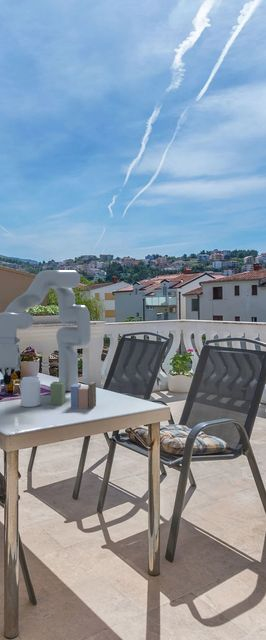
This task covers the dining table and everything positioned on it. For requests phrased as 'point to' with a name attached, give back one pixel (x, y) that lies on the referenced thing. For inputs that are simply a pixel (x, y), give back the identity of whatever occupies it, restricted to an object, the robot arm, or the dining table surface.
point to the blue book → (74, 395)
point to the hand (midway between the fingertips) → (7, 384)
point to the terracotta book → (83, 397)
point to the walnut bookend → (92, 394)
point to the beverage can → (30, 391)
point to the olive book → (57, 393)
